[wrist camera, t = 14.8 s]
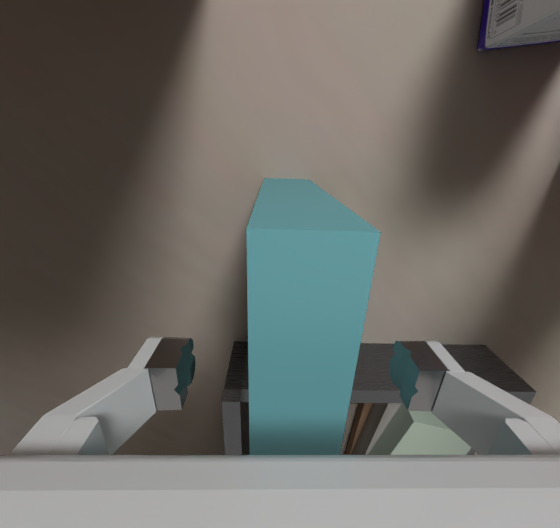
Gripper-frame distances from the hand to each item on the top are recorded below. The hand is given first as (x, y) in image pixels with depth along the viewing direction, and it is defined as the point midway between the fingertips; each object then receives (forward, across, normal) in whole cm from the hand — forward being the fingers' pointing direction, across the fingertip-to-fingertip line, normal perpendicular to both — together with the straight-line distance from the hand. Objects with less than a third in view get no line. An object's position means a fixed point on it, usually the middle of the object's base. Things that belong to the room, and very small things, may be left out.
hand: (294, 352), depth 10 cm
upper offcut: (+8, -12, +17) cm, 22 cm away
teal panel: (+11, 0, 0) cm, 11 cm away
